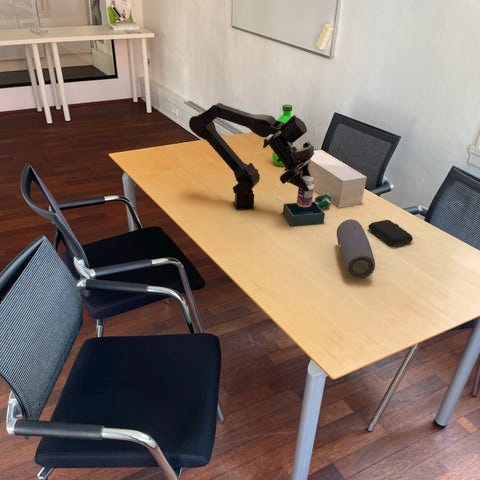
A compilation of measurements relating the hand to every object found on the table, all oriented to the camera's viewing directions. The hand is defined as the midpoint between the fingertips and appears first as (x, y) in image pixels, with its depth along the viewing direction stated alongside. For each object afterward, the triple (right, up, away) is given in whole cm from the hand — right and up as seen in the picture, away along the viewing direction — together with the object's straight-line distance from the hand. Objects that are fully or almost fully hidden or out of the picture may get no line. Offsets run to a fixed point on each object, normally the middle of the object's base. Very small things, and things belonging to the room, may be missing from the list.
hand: (310, 187), depth 163 cm
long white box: (+12, +7, +29) cm, 32 cm away
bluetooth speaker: (+11, -28, -15) cm, 34 cm away
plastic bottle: (-5, +25, +50) cm, 57 cm away
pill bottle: (-2, -5, +5) cm, 7 cm away
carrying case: (+28, -17, 0) cm, 33 cm away
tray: (-2, -9, +8) cm, 12 cm away
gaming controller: (+7, -2, +17) cm, 19 cm away
